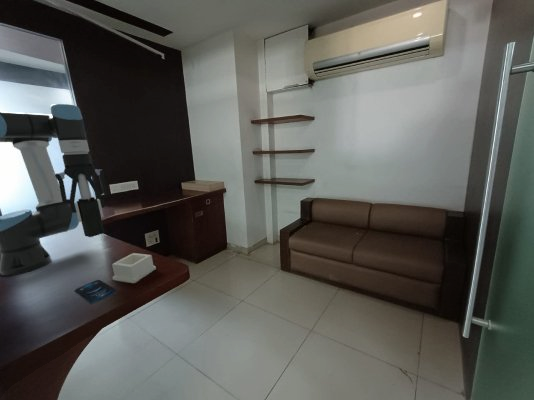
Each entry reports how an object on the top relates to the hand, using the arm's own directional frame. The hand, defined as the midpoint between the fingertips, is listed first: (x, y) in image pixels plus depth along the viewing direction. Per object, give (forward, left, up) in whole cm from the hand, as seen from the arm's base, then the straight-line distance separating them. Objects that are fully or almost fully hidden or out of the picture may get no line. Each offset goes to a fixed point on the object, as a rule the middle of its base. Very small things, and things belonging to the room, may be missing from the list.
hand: (91, 218), depth 85 cm
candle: (0, 0, -6) cm, 6 cm away
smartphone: (+9, -10, -22) cm, 26 cm away
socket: (+13, +2, -22) cm, 26 cm away
